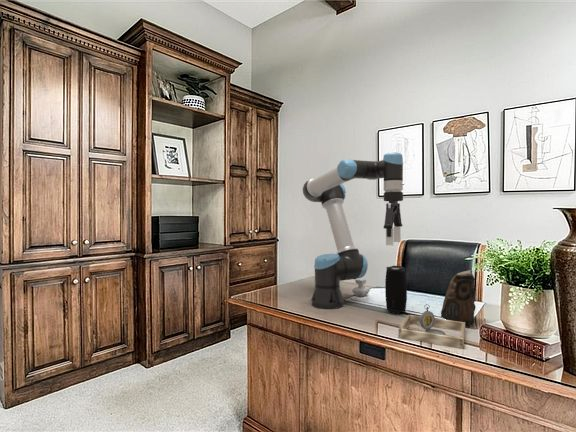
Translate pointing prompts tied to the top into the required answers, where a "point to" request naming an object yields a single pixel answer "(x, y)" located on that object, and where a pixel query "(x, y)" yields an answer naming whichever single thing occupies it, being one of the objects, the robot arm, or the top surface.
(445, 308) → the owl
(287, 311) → the top surface
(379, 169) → the robot arm
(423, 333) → the box
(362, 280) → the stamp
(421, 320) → the pocket watch
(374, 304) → the top surface
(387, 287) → the portable speaker
